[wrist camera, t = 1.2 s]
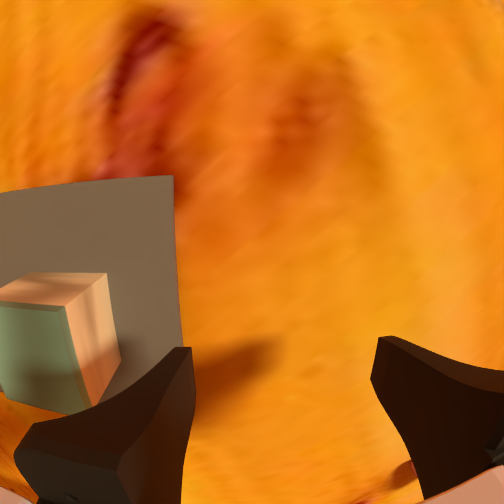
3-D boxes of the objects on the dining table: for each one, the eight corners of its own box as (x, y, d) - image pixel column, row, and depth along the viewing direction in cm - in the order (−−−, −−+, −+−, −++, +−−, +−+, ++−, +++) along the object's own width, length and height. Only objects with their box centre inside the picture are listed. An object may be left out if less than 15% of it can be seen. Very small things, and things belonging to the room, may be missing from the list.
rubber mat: (-42, 371, 16) (-45, 374, 15) (-78, 209, 13) (-83, 211, 12) (192, 417, 17) (191, 423, 16) (173, 175, 14) (170, 175, 13)
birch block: (49, 352, 15) (7, 398, 10) (30, 271, 14) (-26, 302, 9) (121, 361, 15) (89, 419, 10) (106, 273, 14) (57, 312, 9)
